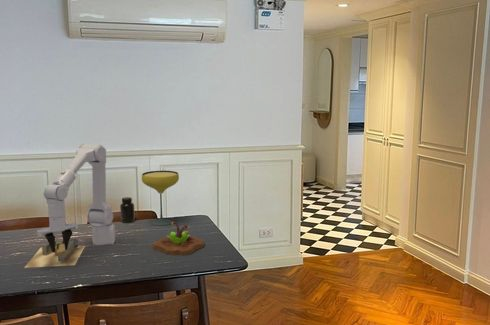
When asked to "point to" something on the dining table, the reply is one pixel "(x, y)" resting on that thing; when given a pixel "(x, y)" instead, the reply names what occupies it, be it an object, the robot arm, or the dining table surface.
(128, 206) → the supplement bottle
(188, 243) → the plant
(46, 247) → the gray block
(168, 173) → the cocktail glass
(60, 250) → the press lever
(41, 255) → the board
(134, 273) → the dining table surface
